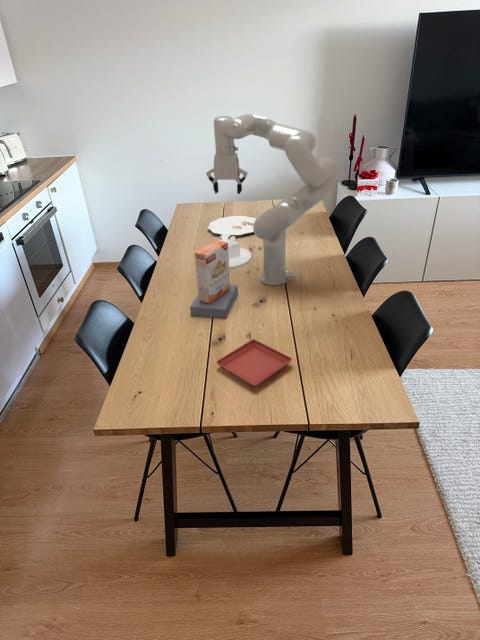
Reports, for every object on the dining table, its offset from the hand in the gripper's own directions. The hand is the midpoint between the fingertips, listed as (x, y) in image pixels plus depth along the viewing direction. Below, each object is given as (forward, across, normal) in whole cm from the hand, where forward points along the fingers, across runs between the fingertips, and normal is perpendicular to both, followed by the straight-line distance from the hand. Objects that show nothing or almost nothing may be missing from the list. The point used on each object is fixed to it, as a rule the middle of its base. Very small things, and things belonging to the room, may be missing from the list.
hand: (227, 192), depth 196 cm
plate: (+37, +12, -53) cm, 66 cm away
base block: (+36, 0, +30) cm, 47 cm away
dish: (+37, +7, -14) cm, 40 cm away
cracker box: (+32, 0, +30) cm, 44 cm away
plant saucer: (+37, -24, +68) cm, 81 cm away
